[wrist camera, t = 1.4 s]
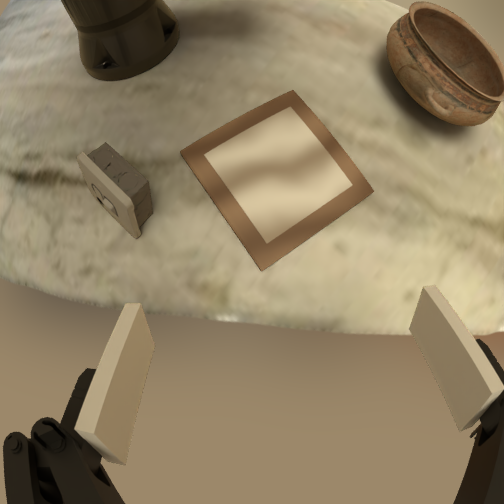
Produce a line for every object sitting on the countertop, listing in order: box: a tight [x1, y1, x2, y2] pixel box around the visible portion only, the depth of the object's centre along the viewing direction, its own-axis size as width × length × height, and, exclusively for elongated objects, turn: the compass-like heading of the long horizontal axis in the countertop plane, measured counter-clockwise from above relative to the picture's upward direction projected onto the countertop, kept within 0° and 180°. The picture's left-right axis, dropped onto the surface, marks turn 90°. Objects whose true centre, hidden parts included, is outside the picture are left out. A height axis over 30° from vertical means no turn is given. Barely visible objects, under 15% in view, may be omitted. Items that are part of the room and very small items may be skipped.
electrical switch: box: [76, 142, 153, 238], centre depth 28 cm, size 8×5×8 cm, turn 49°
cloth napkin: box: [180, 90, 374, 271], centre depth 32 cm, size 16×16×1 cm
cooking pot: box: [387, 2, 504, 126], centre depth 30 cm, size 25×19×12 cm
